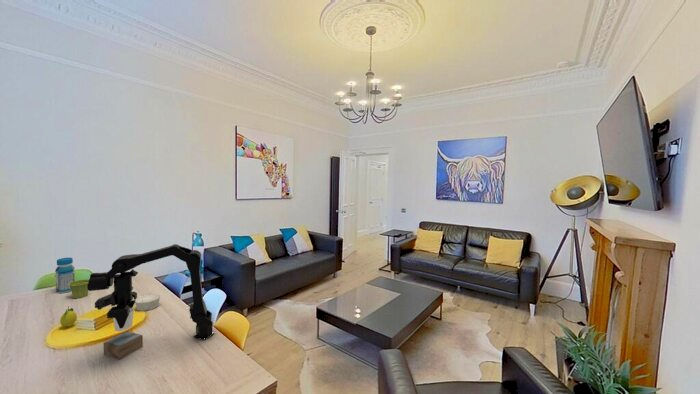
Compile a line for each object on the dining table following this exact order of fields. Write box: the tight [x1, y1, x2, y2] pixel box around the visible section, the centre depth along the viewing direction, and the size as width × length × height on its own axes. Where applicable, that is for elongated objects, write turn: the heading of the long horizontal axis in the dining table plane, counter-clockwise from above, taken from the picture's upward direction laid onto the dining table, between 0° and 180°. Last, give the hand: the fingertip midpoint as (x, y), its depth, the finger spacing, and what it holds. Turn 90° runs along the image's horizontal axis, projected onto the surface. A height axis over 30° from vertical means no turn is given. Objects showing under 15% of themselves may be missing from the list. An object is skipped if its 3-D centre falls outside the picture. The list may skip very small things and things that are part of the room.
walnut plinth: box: [103, 330, 144, 360], centre depth 114 cm, size 9×9×5 cm
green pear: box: [59, 305, 78, 327], centre depth 129 cm, size 7×6×10 cm
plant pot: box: [68, 278, 90, 299], centre depth 161 cm, size 9×9×9 cm
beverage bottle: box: [54, 257, 76, 294], centre depth 168 cm, size 8×8×20 cm
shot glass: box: [112, 307, 135, 332], centre depth 113 cm, size 7×7×7 cm
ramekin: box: [134, 293, 161, 312], centre depth 151 cm, size 11×11×5 cm
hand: (123, 324), depth 113 cm, fingers closed on shot glass, 6 cm apart
